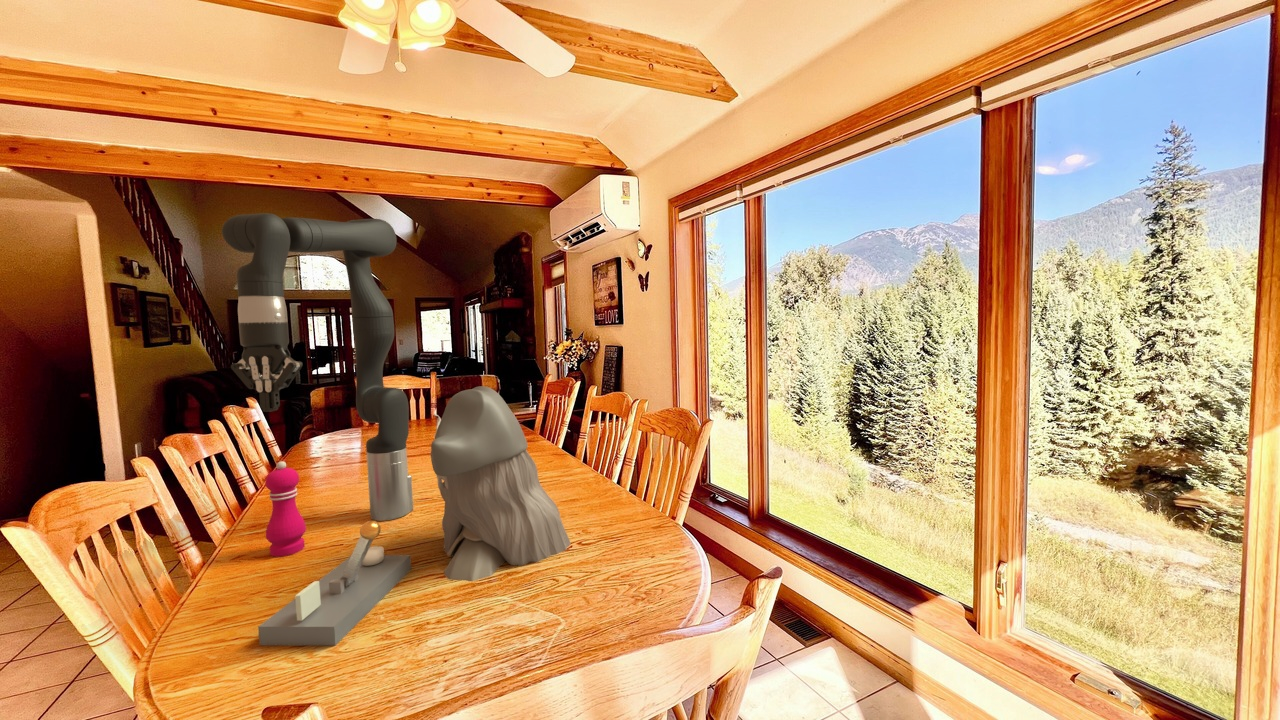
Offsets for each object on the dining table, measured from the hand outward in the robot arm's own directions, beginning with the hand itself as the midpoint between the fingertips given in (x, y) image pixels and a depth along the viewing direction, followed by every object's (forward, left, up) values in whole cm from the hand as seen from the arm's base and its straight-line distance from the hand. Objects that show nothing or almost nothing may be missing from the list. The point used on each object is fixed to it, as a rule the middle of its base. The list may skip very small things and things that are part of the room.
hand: (270, 410), depth 98 cm
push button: (-9, +16, -30) cm, 35 cm away
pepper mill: (-6, -12, -33) cm, 36 cm away
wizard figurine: (-32, +25, -33) cm, 53 cm away
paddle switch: (+7, +25, -30) cm, 40 cm away
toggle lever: (-1, +21, -30) cm, 37 cm away
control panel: (-1, +21, -33) cm, 39 cm away
